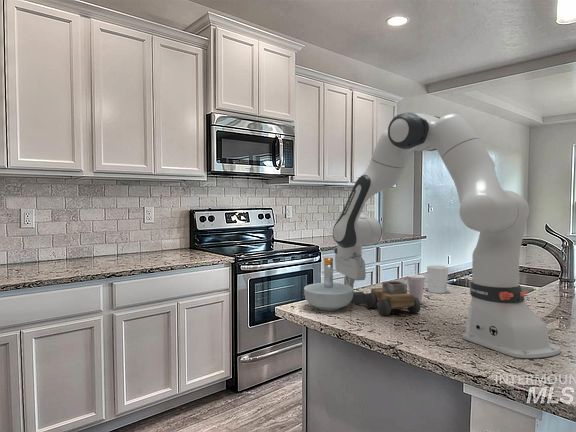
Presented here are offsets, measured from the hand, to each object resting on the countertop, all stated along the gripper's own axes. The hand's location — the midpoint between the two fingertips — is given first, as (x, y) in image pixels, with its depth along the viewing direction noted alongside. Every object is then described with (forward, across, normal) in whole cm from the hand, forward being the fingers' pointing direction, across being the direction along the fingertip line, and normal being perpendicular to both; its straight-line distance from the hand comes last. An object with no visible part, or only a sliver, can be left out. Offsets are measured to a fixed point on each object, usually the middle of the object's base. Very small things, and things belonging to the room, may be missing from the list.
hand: (349, 287), depth 152 cm
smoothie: (+4, -14, -19) cm, 24 cm away
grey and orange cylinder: (-3, -11, +13) cm, 17 cm away
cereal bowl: (+4, -11, +13) cm, 18 cm away
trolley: (+4, -20, -6) cm, 22 cm away
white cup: (+4, -1, -37) cm, 37 cm away
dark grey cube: (+4, -8, 0) cm, 9 cm away
